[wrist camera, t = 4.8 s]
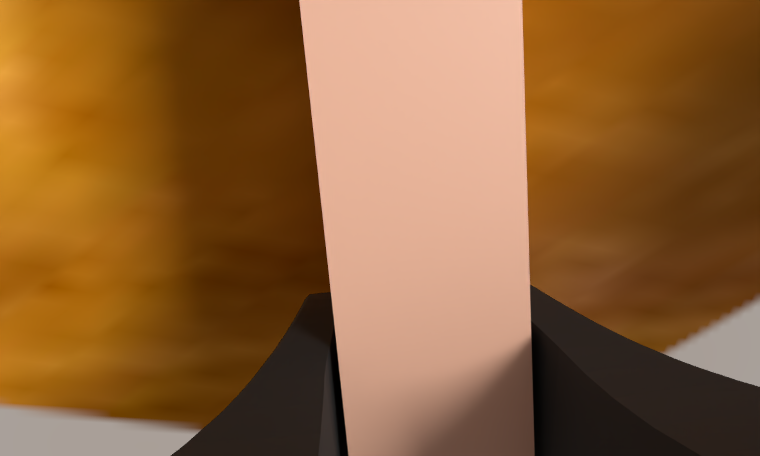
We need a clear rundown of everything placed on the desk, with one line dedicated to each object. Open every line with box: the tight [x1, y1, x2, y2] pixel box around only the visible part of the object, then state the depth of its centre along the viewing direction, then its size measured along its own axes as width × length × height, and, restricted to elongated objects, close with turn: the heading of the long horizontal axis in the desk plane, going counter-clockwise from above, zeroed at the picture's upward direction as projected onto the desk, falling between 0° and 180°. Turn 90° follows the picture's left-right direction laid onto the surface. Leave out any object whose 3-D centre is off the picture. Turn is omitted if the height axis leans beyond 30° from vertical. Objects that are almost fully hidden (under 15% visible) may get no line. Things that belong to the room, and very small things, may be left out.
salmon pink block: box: [299, 0, 535, 456], centre depth 10 cm, size 3×12×6 cm, turn 4°
